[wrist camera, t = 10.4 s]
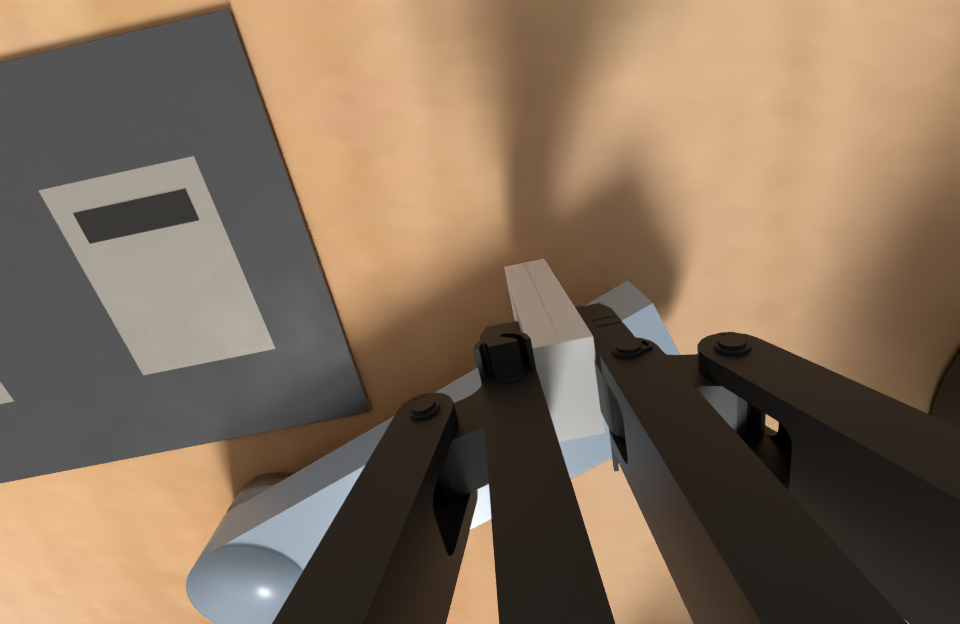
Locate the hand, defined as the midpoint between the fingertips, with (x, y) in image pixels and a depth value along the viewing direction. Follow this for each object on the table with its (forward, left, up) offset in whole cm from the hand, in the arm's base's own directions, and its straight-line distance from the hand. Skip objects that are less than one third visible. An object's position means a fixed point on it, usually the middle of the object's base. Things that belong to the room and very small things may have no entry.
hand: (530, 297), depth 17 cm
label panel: (+20, -3, -2) cm, 20 cm away
